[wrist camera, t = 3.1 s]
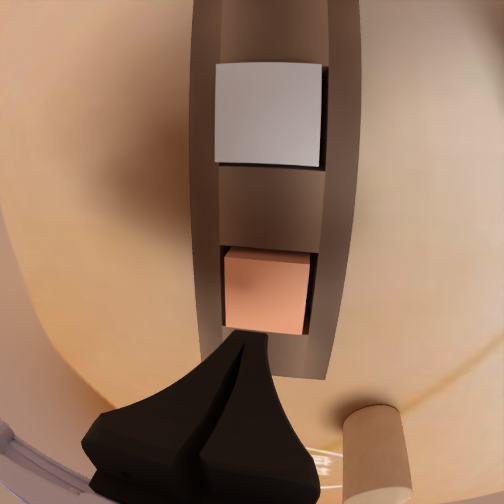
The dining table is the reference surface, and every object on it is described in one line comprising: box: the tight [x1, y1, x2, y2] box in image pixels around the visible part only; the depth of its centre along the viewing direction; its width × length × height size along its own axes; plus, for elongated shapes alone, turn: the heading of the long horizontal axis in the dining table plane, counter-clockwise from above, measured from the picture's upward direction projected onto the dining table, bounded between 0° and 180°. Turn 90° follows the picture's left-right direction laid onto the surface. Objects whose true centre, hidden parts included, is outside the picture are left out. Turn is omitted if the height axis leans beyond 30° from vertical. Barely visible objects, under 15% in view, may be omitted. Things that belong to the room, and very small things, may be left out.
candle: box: [342, 405, 413, 504], centre depth 19 cm, size 6×6×10 cm
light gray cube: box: [215, 62, 322, 167], centre depth 13 cm, size 4×4×4 cm
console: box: [189, 0, 361, 380], centre depth 15 cm, size 8×30×4 cm, turn 179°
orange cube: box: [224, 246, 310, 335], centre depth 18 cm, size 4×4×4 cm
